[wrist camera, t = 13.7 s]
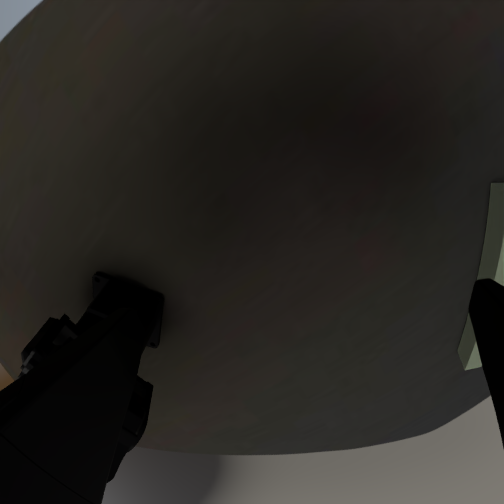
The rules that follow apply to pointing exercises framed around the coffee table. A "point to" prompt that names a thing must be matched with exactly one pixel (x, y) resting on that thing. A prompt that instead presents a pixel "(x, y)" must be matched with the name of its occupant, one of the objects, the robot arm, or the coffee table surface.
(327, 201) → the coffee table surface
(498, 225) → the sage board
